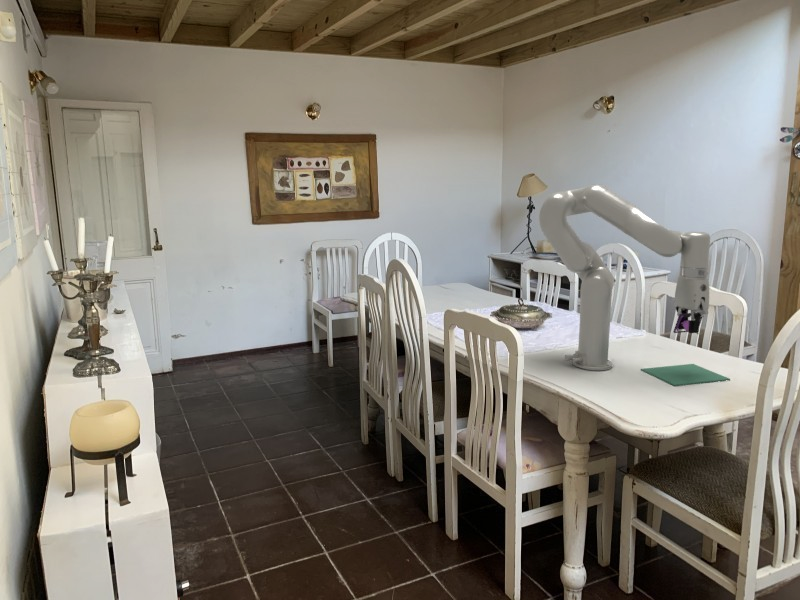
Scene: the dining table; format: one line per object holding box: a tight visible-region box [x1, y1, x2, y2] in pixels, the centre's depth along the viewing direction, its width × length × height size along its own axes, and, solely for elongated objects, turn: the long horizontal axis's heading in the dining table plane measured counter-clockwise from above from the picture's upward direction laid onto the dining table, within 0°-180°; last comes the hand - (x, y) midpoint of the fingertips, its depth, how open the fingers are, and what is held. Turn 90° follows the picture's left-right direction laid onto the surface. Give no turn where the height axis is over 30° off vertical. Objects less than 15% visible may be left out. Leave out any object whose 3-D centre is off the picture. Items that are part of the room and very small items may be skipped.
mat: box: [640, 363, 731, 387], centre depth 189 cm, size 20×16×1 cm
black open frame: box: [673, 312, 703, 335], centre depth 186 cm, size 7×5×9 cm
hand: (687, 330), depth 187 cm, fingers closed on black open frame, 4 cm apart
